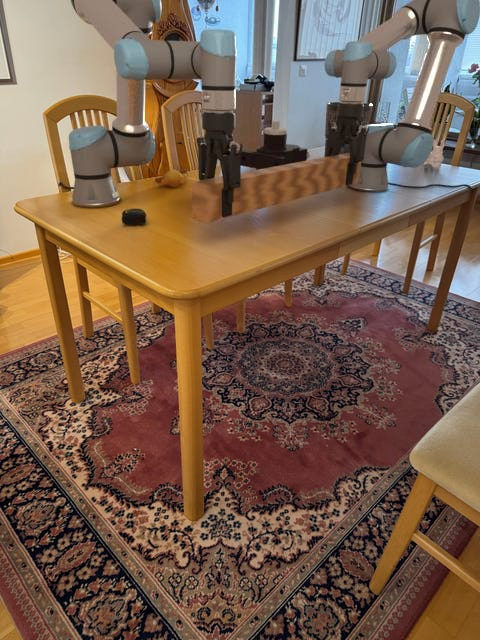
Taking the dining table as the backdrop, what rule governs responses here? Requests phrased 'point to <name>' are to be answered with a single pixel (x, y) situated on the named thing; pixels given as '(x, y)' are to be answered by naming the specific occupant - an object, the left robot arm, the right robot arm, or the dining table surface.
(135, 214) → the tape measure
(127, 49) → the left robot arm
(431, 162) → the figurine
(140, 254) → the dining table surface
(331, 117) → the planter
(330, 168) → the beam
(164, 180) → the toy
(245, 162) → the mechanical component
